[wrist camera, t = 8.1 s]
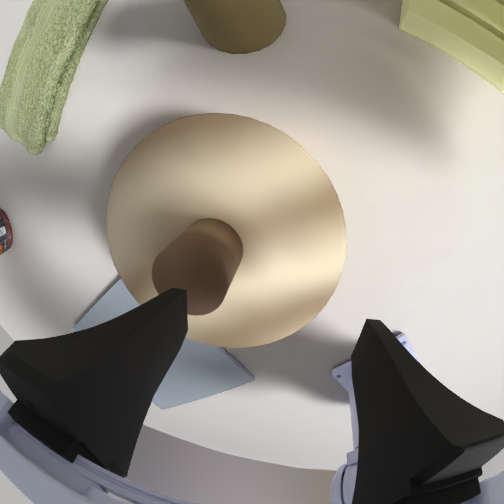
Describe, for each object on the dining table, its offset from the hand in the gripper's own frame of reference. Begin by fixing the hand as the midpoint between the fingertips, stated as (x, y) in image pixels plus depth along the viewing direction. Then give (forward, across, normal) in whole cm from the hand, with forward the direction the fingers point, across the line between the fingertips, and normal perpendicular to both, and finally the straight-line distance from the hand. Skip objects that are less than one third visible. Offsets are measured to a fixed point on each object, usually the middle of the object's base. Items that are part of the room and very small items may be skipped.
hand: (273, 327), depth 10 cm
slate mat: (+10, +12, +15) cm, 22 cm away
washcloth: (+11, +25, -16) cm, 32 cm away
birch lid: (+6, +4, 0) cm, 8 cm away
